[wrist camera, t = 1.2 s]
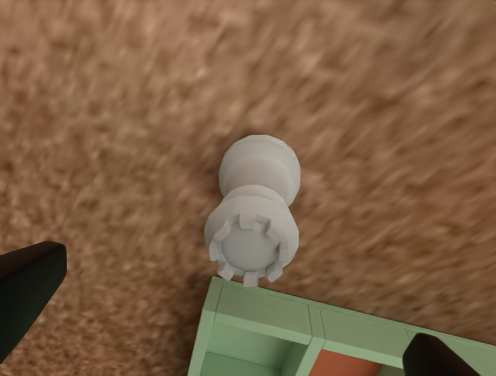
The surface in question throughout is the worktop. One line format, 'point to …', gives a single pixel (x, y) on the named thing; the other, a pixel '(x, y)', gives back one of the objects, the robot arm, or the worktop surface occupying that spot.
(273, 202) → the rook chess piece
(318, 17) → the worktop surface
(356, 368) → the grid
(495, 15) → the worktop surface
